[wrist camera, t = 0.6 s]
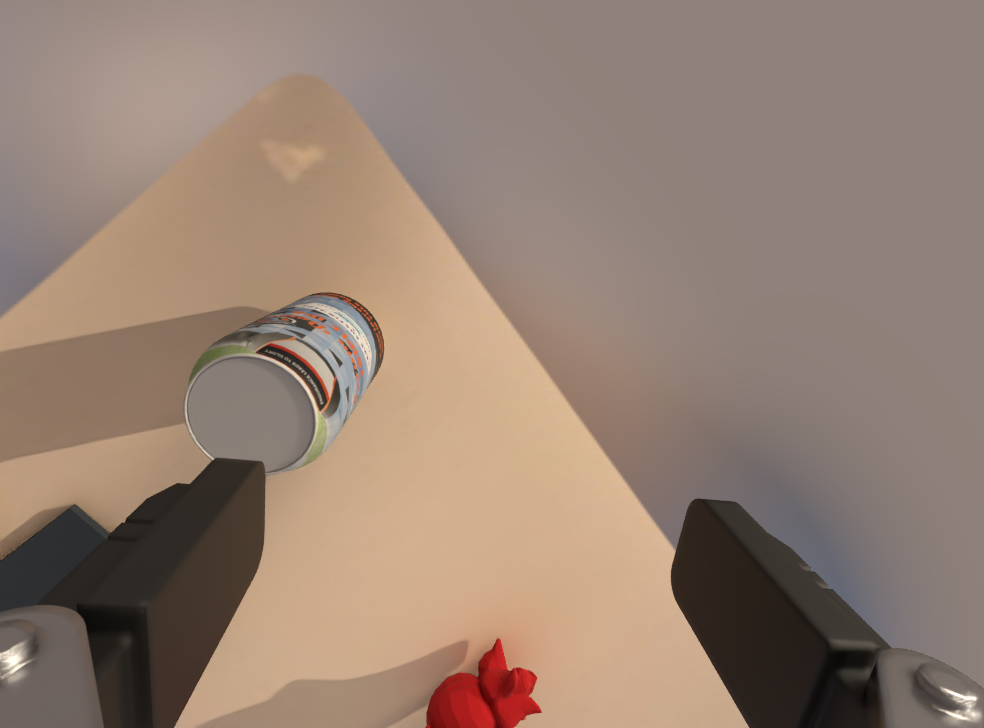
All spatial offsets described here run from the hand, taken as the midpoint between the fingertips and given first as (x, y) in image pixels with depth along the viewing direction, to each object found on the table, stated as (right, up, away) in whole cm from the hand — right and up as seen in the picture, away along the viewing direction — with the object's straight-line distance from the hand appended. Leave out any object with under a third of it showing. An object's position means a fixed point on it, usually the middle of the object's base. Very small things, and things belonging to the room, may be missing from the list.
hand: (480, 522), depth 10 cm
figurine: (-1, -23, +29) cm, 37 cm away
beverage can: (-10, +4, +21) cm, 23 cm away
